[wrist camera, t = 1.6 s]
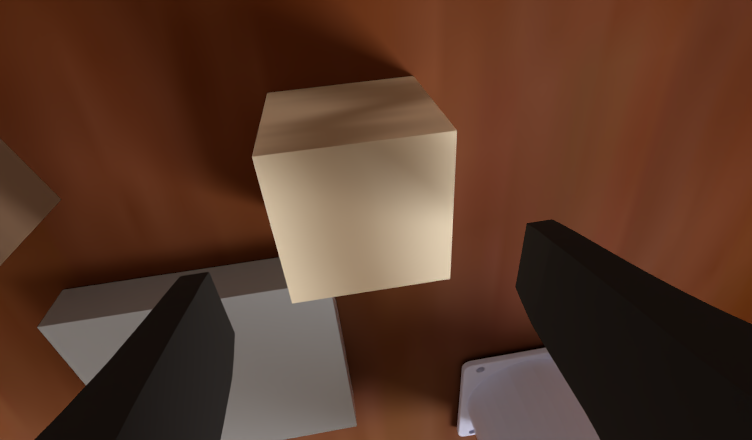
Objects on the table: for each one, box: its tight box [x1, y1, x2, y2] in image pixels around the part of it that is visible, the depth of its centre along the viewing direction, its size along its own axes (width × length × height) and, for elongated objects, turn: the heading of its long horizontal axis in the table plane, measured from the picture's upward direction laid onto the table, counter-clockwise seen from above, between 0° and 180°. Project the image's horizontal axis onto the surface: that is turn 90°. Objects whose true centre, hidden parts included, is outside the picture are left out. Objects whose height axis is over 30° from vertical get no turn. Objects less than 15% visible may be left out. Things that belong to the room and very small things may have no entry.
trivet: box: [37, 257, 357, 440], centre depth 20 cm, size 11×11×2 cm
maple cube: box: [252, 76, 457, 304], centre depth 13 cm, size 5×5×5 cm
